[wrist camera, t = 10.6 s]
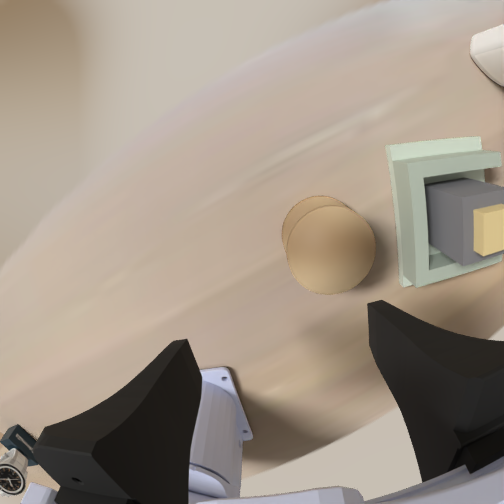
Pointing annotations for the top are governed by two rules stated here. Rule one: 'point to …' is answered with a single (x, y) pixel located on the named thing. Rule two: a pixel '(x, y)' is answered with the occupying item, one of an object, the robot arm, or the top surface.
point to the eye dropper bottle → (490, 53)
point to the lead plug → (465, 219)
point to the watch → (16, 461)
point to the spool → (327, 245)
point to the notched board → (414, 202)
